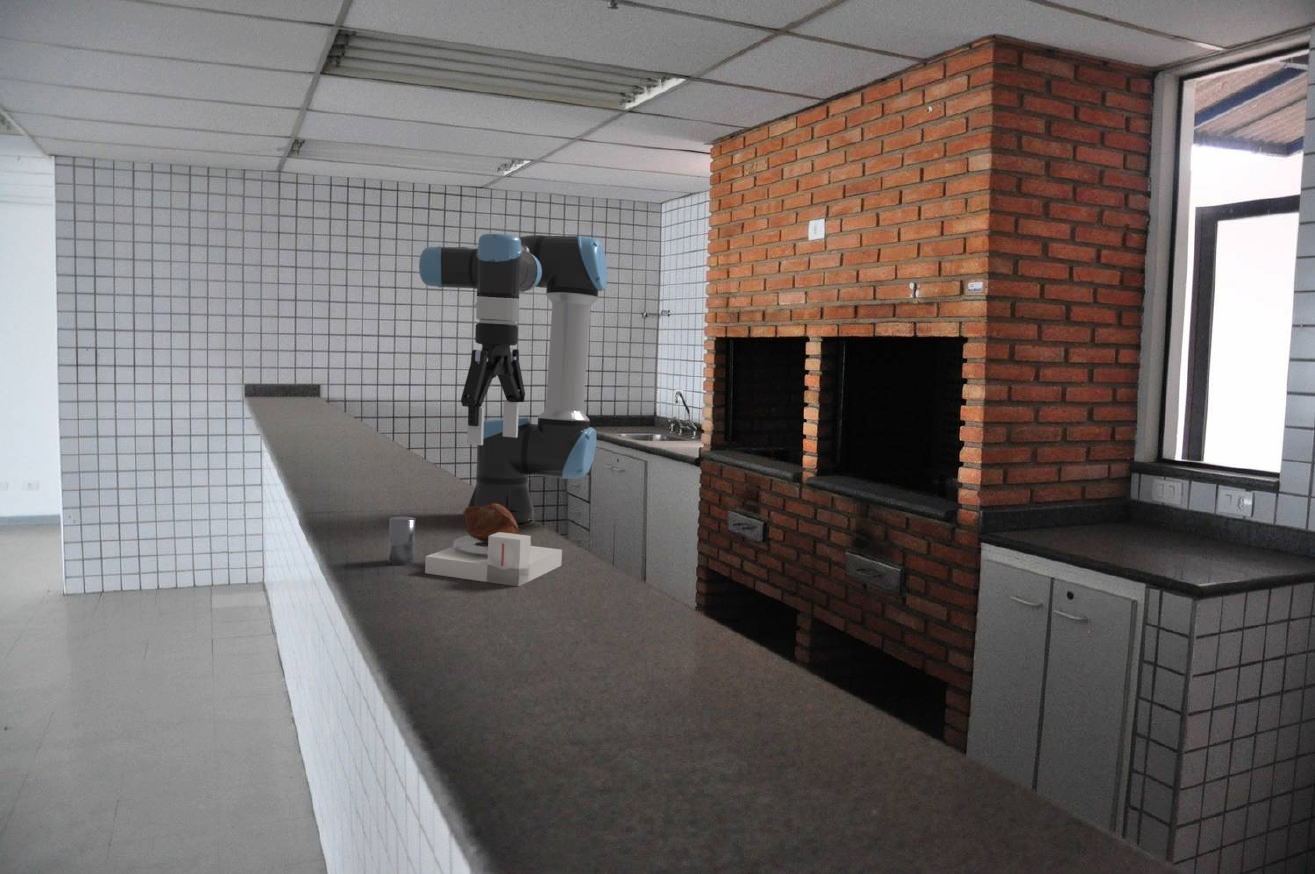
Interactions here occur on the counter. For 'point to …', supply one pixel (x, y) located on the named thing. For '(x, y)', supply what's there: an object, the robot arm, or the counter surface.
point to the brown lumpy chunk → (489, 521)
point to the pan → (471, 545)
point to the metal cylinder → (401, 540)
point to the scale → (497, 561)
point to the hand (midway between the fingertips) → (493, 440)
